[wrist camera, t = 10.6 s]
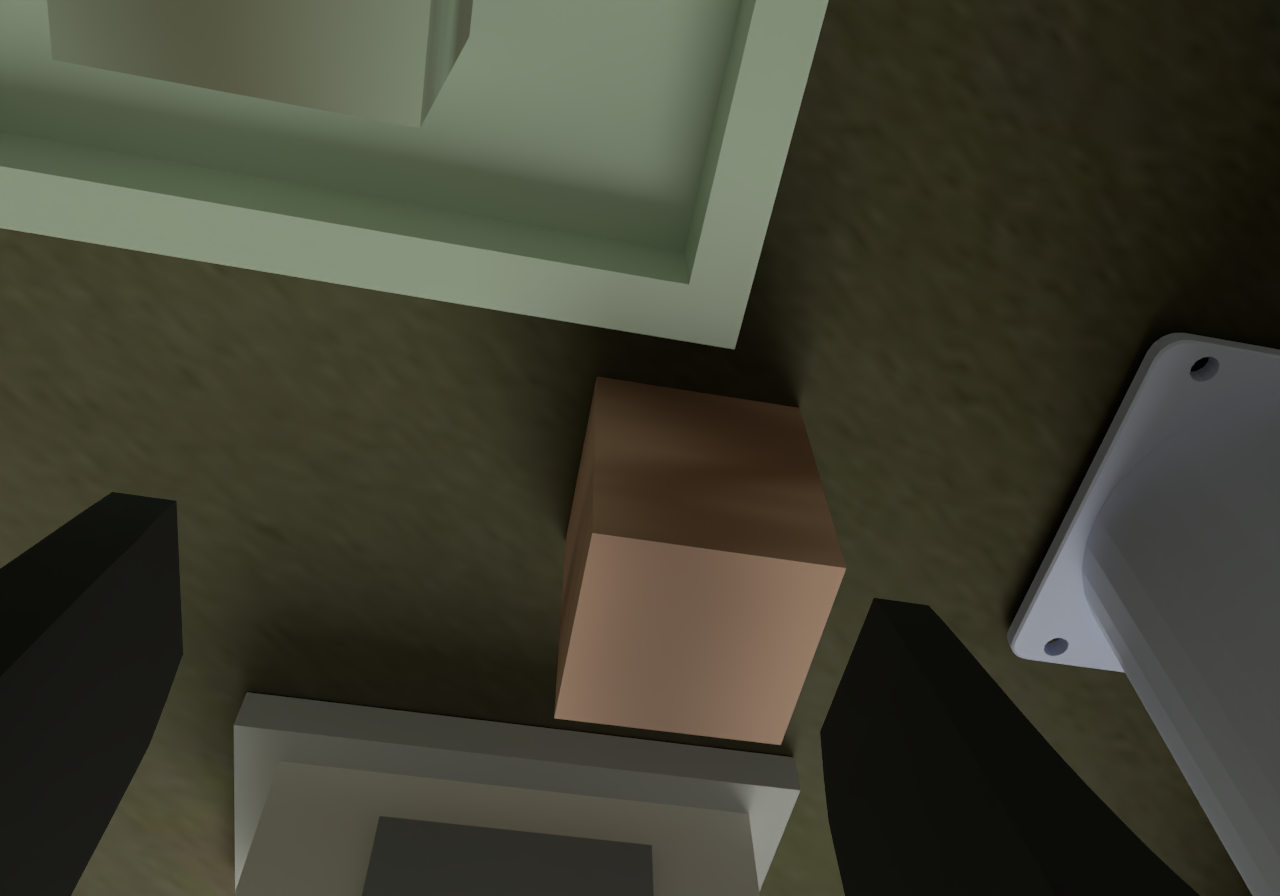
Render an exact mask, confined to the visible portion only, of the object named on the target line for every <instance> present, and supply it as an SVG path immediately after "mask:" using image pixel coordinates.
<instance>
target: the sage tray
mask: <svg viewBox="0 0 1280 896" xmlns="http://www.w3.org/2000/svg"><path fill="white" fill-rule="evenodd" d="M828 1H829V0H473V6H472V16H471V25H470V35H469V38H468V40H467V42H466V44H465V46H464V48H463V49H462V51H461V53H460V55H459V57H458V59H457V60H456V62H455V64H454V66H453V68H452V70H451V72H450V73H449V75H448V77H447V79H446V81H445V83H444V85H443V86H442V88H441V90H440V92H439V94H438V96H437V98H436V99H435V101H434V103H433V105H432V107H431V109H430V110H429V112H428V114H427V116H426V118H425V120H424V122H423V123H422V125H421V127H420V128H416V127H411V126H405V125H400V124H394V123H389V122H384V121H378V120H373V119H368V118H362V117H357V116H351V115H346V114H341V113H335V112H330V111H325V110H319V109H314V108H309V107H303V106H298V105H292V104H287V103H282V102H276V101H271V100H266V99H260V98H255V97H249V96H244V95H239V94H233V93H228V92H223V91H217V90H212V89H206V88H201V87H196V86H190V85H185V84H180V83H174V82H169V81H163V80H158V79H153V78H147V77H142V76H137V75H131V74H126V73H120V72H115V71H110V70H104V69H99V68H94V67H88V66H83V65H78V64H72V63H67V62H61V61H56V60H52V50H51V39H50V28H49V17H48V6H47V0H0V228H4V229H10V230H16V231H22V232H28V233H34V234H40V235H46V236H52V237H58V238H64V239H70V240H76V241H83V242H89V243H95V244H101V245H107V246H113V247H119V248H125V249H131V250H137V251H143V252H149V253H155V254H161V255H167V256H173V257H179V258H185V259H191V260H197V261H203V262H209V263H215V264H221V265H227V266H233V267H240V268H246V269H252V270H258V271H264V272H270V273H276V274H282V275H288V276H294V277H300V278H306V279H312V280H318V281H324V282H330V283H336V284H342V285H348V286H354V287H360V288H366V289H372V290H378V291H384V292H390V293H397V294H403V295H409V296H415V297H421V298H427V299H433V300H439V301H445V302H451V303H457V304H463V305H469V306H475V307H481V308H487V309H493V310H499V311H505V312H511V313H517V314H523V315H529V316H535V317H541V318H547V319H554V320H560V321H566V322H572V323H578V324H584V325H590V326H596V327H602V328H608V329H614V330H620V331H626V332H632V333H638V334H644V335H650V336H656V337H662V338H668V339H674V340H680V341H686V342H692V343H698V344H704V345H711V346H717V347H723V348H729V349H735V346H736V343H737V339H738V335H739V332H740V328H741V324H742V320H743V317H744V313H745V309H746V306H747V302H748V298H749V294H750V291H751V287H752V283H753V280H754V276H755V272H756V268H757V265H758V261H759V257H760V254H761V250H762V246H763V242H764V239H765V235H766V231H767V228H768V224H769V220H770V216H771V213H772V209H773V205H774V202H775V198H776V194H777V190H778V187H779V183H780V179H781V175H782V172H783V168H784V164H785V161H786V157H787V153H788V149H789V146H790V142H791V138H792V135H793V131H794V127H795V123H796V120H797V116H798V112H799V109H800V105H801V101H802V97H803V94H804V90H805V86H806V83H807V79H808V75H809V71H810V68H811V64H812V60H813V57H814V53H815V49H816V45H817V42H818V38H819V34H820V31H821V27H822V23H823V19H824V16H825V12H826V8H827V5H828Z"/></svg>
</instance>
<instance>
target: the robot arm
mask: <svg viewBox="0 0 1280 896" xmlns="http://www.w3.org/2000/svg"><path fill="white" fill-rule="evenodd" d="M1203 357H1209V359H1208V362H1207V363H1206V364H1205V366H1204V367H1203V368H1201V369H1199V370H1197V371H1193V372H1190V371H1191V367H1192V366H1193V365H1194V363H1195V362H1196V361H1197V360H1199V359H1201V358H1203ZM1054 638H1059V639H1058V640H1057V641H1055V642H1053V643H1047V642H1048V641H1050V640H1052V639H1054ZM1007 639H1008V642H1009V645H1010V647H1011V649H1012V651H1013V653H1014V654H1016V655H1017V656H1018V657H1020V658H1024V659H1028V660H1036V661H1043V662H1051V663H1058V664H1066V665H1073V666H1080V667H1088V668H1095V669H1103V670H1110V671H1118V672H1125V673H1126V675H1127V677H1128V679H1129V680H1130V682H1131V684H1132V686H1133V687H1134V689H1135V691H1136V693H1137V694H1138V696H1139V698H1140V700H1141V701H1142V703H1143V705H1144V707H1145V708H1146V710H1147V712H1148V714H1149V715H1150V717H1151V719H1152V721H1153V722H1154V724H1155V726H1156V728H1157V729H1158V731H1159V733H1160V735H1161V736H1162V738H1163V740H1164V742H1165V743H1166V745H1167V747H1168V749H1169V750H1170V752H1171V754H1172V756H1173V757H1174V759H1175V761H1176V763H1177V764H1178V766H1179V768H1180V770H1181V771H1182V773H1183V775H1184V777H1185V778H1186V780H1187V782H1188V784H1189V785H1190V787H1191V789H1192V791H1193V792H1194V794H1195V796H1196V798H1197V799H1198V801H1199V803H1200V805H1201V806H1202V808H1203V810H1204V812H1205V813H1206V815H1207V817H1208V819H1209V820H1210V822H1211V824H1212V826H1213V827H1214V829H1215V831H1216V833H1217V834H1218V836H1219V838H1220V840H1221V841H1222V843H1223V845H1224V847H1225V848H1226V850H1227V852H1228V854H1229V855H1230V857H1231V859H1232V861H1233V862H1234V864H1235V866H1236V868H1237V869H1238V871H1239V873H1240V875H1241V876H1242V878H1243V880H1244V882H1245V883H1246V885H1247V887H1248V889H1249V891H1250V892H1251V894H1252V896H1280V350H1279V349H1273V348H1267V347H1262V346H1256V345H1250V344H1245V343H1239V342H1233V341H1228V340H1222V339H1217V338H1211V337H1205V336H1200V335H1194V334H1188V333H1171V334H1168V335H1166V336H1163V337H1161V338H1160V339H1159V340H1157V341H1156V342H1154V343H1153V344H1152V346H1151V347H1150V349H1149V350H1148V351H1147V353H1146V355H1145V357H1144V359H1143V361H1142V363H1141V365H1140V367H1139V369H1138V371H1137V373H1136V375H1135V377H1134V379H1133V381H1132V383H1131V385H1130V387H1129V389H1128V391H1127V393H1126V395H1125V397H1124V399H1123V401H1122V403H1121V405H1120V407H1119V409H1118V411H1117V413H1116V415H1115V417H1114V419H1113V421H1112V423H1111V425H1110V427H1109V429H1108V431H1107V433H1106V435H1105V437H1104V439H1103V441H1102V443H1101V445H1100V447H1099V449H1098V451H1097V453H1096V455H1095V457H1094V459H1093V461H1092V463H1091V465H1090V467H1089V469H1088V471H1087V473H1086V475H1085V477H1084V479H1083V481H1082V483H1081V486H1080V488H1079V490H1078V492H1077V494H1076V496H1075V498H1074V500H1073V502H1072V504H1071V506H1070V508H1069V510H1068V512H1067V514H1066V516H1065V518H1064V520H1063V522H1062V524H1061V526H1060V528H1059V530H1058V532H1057V534H1056V536H1055V538H1054V540H1053V542H1052V544H1051V546H1050V548H1049V550H1048V552H1047V554H1046V556H1045V558H1044V560H1043V562H1042V564H1041V566H1040V568H1039V570H1038V572H1037V574H1036V576H1035V578H1034V580H1033V582H1032V584H1031V586H1030V588H1029V590H1028V592H1027V594H1026V596H1025V598H1024V600H1023V602H1022V604H1021V606H1020V608H1019V610H1018V612H1017V614H1016V616H1015V618H1014V620H1013V622H1012V624H1011V626H1010V628H1009V630H1008V634H1007ZM182 655H183V644H182V621H181V598H180V575H179V552H178V529H177V506H176V501H173V500H166V499H159V498H151V497H144V496H137V495H130V494H123V493H115V492H112V493H110V494H109V495H107V496H106V497H104V498H103V499H101V500H100V501H98V502H97V503H95V504H94V505H92V506H91V507H89V508H88V509H86V510H85V511H83V512H82V513H80V514H79V515H77V516H76V517H74V518H73V519H72V520H70V521H69V522H67V523H66V524H64V525H63V526H61V527H60V528H59V529H57V530H56V531H54V532H53V533H51V534H50V535H48V536H47V537H46V538H44V539H43V540H41V541H40V542H38V543H37V544H35V545H34V546H33V547H31V548H30V549H28V550H27V551H25V552H24V553H22V554H21V555H20V556H18V557H17V558H15V559H14V560H12V561H11V562H9V563H8V564H7V565H5V566H4V567H2V568H1V569H0V896H71V894H72V892H73V890H74V889H75V887H76V885H77V883H78V881H79V879H80V877H81V875H82V873H83V871H84V870H85V868H86V866H87V864H88V862H89V860H90V858H91V856H92V854H93V852H94V851H95V849H96V847H97V845H98V843H99V841H100V839H101V837H102V835H103V833H104V832H105V830H106V828H107V826H108V824H109V822H110V820H111V818H112V816H113V814H114V812H115V811H116V809H117V807H118V805H119V803H120V801H121V799H122V797H123V795H124V793H125V791H126V789H127V787H128V785H129V784H130V782H131V780H132V778H133V776H134V774H135V772H136V770H137V768H138V766H139V764H140V762H141V760H142V758H143V756H144V754H145V752H146V750H147V748H148V746H149V744H150V742H151V739H152V736H153V734H154V731H155V729H156V726H157V723H158V721H159V718H160V716H161V713H162V710H163V708H164V705H165V702H166V700H167V697H168V694H169V691H170V689H171V686H172V683H173V680H174V677H175V675H176V672H177V669H178V666H179V663H180V661H181V658H182ZM820 735H821V747H822V759H823V771H824V783H825V792H826V801H827V810H828V819H829V824H830V829H831V834H832V839H833V843H834V848H835V852H836V857H837V861H838V866H839V870H840V875H841V879H842V884H843V888H844V893H845V896H1200V895H1199V894H1198V893H1196V892H1195V891H1194V890H1193V889H1192V888H1191V887H1190V886H1189V885H1188V884H1186V883H1185V882H1184V881H1183V880H1182V879H1181V878H1180V877H1179V876H1178V875H1176V874H1175V873H1174V872H1173V871H1172V870H1171V869H1170V868H1169V867H1168V866H1167V865H1166V864H1165V863H1164V862H1163V861H1162V860H1161V859H1160V858H1159V857H1158V856H1156V855H1155V854H1154V853H1153V852H1152V851H1151V850H1150V849H1149V848H1148V847H1147V846H1146V845H1145V844H1144V843H1143V842H1142V841H1141V840H1140V839H1139V838H1138V837H1137V836H1136V835H1135V834H1134V833H1133V832H1132V831H1131V830H1130V829H1129V828H1128V827H1127V826H1126V825H1125V824H1124V823H1123V822H1122V821H1121V820H1120V819H1119V818H1118V817H1117V815H1116V814H1115V813H1114V812H1113V811H1112V810H1111V809H1110V808H1109V807H1108V806H1107V805H1106V804H1105V803H1104V802H1103V801H1102V800H1101V799H1100V798H1099V797H1098V796H1097V795H1096V794H1095V793H1094V792H1093V791H1092V790H1091V789H1090V788H1089V787H1088V786H1087V784H1086V783H1085V782H1084V781H1083V780H1082V779H1081V778H1080V777H1079V776H1078V775H1077V774H1076V773H1075V772H1074V771H1073V769H1072V768H1071V767H1070V766H1069V765H1068V764H1067V763H1066V762H1065V761H1064V760H1063V759H1062V757H1061V756H1060V755H1059V754H1058V753H1057V752H1056V751H1055V750H1054V749H1053V748H1052V746H1051V745H1050V744H1049V743H1048V742H1047V741H1046V740H1045V739H1044V737H1043V736H1042V735H1041V734H1040V733H1039V732H1038V731H1037V730H1036V728H1035V727H1034V726H1033V725H1032V724H1031V723H1030V722H1029V720H1028V719H1027V718H1026V717H1025V716H1024V715H1023V714H1022V712H1021V711H1020V710H1019V709H1018V708H1017V707H1016V705H1015V704H1014V703H1013V702H1012V701H1011V700H1010V699H1009V697H1008V696H1007V695H1006V694H1005V693H1004V692H1003V690H1002V689H1001V688H1000V687H999V686H998V685H997V683H996V682H995V681H994V680H993V679H992V677H991V676H990V675H989V674H988V673H987V672H986V670H985V669H984V668H983V667H982V666H981V665H980V663H979V662H978V661H977V660H976V659H975V658H974V656H973V655H972V654H971V653H970V652H969V651H968V649H967V648H966V647H965V646H964V645H963V644H962V642H961V641H960V640H959V639H958V638H957V637H956V635H955V634H954V633H953V632H952V631H951V630H950V629H949V627H948V626H947V625H946V624H945V623H944V622H943V621H942V620H941V618H940V617H939V616H938V615H937V614H936V613H935V612H934V611H933V610H932V609H931V608H930V607H929V606H928V605H921V604H914V603H907V602H900V601H892V600H885V599H878V598H874V599H873V602H872V604H871V607H870V609H869V612H868V614H867V617H866V619H865V622H864V624H863V627H862V629H861V632H860V634H859V637H858V639H857V642H856V644H855V647H854V649H853V652H852V654H851V656H850V659H849V661H848V664H847V666H846V669H845V671H844V674H843V676H842V679H841V681H840V684H839V686H838V689H837V691H836V694H835V696H834V699H833V701H832V704H831V706H830V709H829V711H828V714H827V716H826V719H825V721H824V724H823V726H822V729H821V731H820Z"/></svg>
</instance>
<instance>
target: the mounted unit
mask: <svg viewBox="0 0 1280 896" xmlns="http://www.w3.org/2000/svg"><path fill="white" fill-rule="evenodd" d="M799 792H800V786H799V781H798V775H797V770H796V765H795V759H794V757H786V756H778V755H769V754H761V753H753V752H744V751H736V750H727V749H719V748H711V747H702V746H694V745H685V744H677V743H669V742H660V741H652V740H643V739H635V738H627V737H618V736H610V735H601V734H593V733H585V732H576V731H568V730H559V729H551V728H543V727H534V726H526V725H517V724H509V723H501V722H492V721H484V720H475V719H467V718H459V717H450V716H442V715H433V714H425V713H417V712H408V711H400V710H391V709H383V708H375V707H366V706H358V705H349V704H341V703H333V702H324V701H316V700H307V699H299V698H291V697H282V696H274V695H265V694H257V693H249V692H247V693H246V695H245V698H244V700H243V703H242V705H241V708H240V710H239V713H238V715H237V718H236V720H235V723H234V811H235V894H234V896H760V894H759V892H760V889H761V887H762V884H763V882H764V879H765V877H766V874H767V872H768V869H769V867H770V864H771V862H772V859H773V857H774V854H775V852H776V849H777V847H778V844H779V842H780V840H781V837H782V835H783V832H784V830H785V827H786V825H787V822H788V820H789V817H790V815H791V812H792V810H793V807H794V805H795V802H796V800H797V797H798V795H799Z"/></svg>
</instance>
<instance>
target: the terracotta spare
mask: <svg viewBox="0 0 1280 896" xmlns="http://www.w3.org/2000/svg"><path fill="white" fill-rule="evenodd" d="M845 570H846V566H845V562H844V559H843V555H842V552H841V549H840V545H839V542H838V538H837V535H836V532H835V528H834V525H833V521H832V518H831V514H830V511H829V508H828V504H827V501H826V497H825V494H824V490H823V487H822V484H821V480H820V477H819V473H818V470H817V466H816V463H815V460H814V456H813V453H812V449H811V446H810V442H809V439H808V436H807V432H806V429H805V425H804V422H803V419H802V415H801V412H800V408H797V407H790V406H784V405H778V404H771V403H765V402H758V401H752V400H745V399H739V398H733V397H726V396H720V395H713V394H707V393H700V392H694V391H688V390H681V389H675V388H668V387H662V386H655V385H649V384H643V383H636V382H630V381H623V380H617V379H610V378H604V377H597V378H596V383H595V388H594V394H593V399H592V404H591V409H590V415H589V420H588V425H587V430H586V436H585V441H584V446H583V451H582V457H581V462H580V467H579V472H578V478H577V483H576V488H575V494H574V499H573V504H572V509H571V515H570V520H569V525H568V530H567V536H566V541H565V555H564V571H563V587H562V602H561V618H560V634H559V650H558V666H557V682H556V698H555V713H554V718H555V719H564V720H572V721H581V722H589V723H598V724H606V725H615V726H623V727H632V728H640V729H649V730H657V731H666V732H674V733H683V734H691V735H700V736H708V737H717V738H725V739H734V740H742V741H750V742H759V743H767V744H776V745H781V743H782V740H783V738H784V735H785V732H786V730H787V727H788V724H789V721H790V719H791V716H792V713H793V711H794V708H795V705H796V703H797V700H798V697H799V694H800V692H801V689H802V686H803V684H804V681H805V678H806V676H807V673H808V670H809V667H810V665H811V662H812V659H813V657H814V654H815V651H816V648H817V646H818V643H819V640H820V638H821V635H822V632H823V630H824V627H825V624H826V621H827V619H828V616H829V613H830V611H831V608H832V605H833V603H834V600H835V597H836V594H837V592H838V589H839V586H840V584H841V581H842V578H843V576H844V573H845Z"/></svg>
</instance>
